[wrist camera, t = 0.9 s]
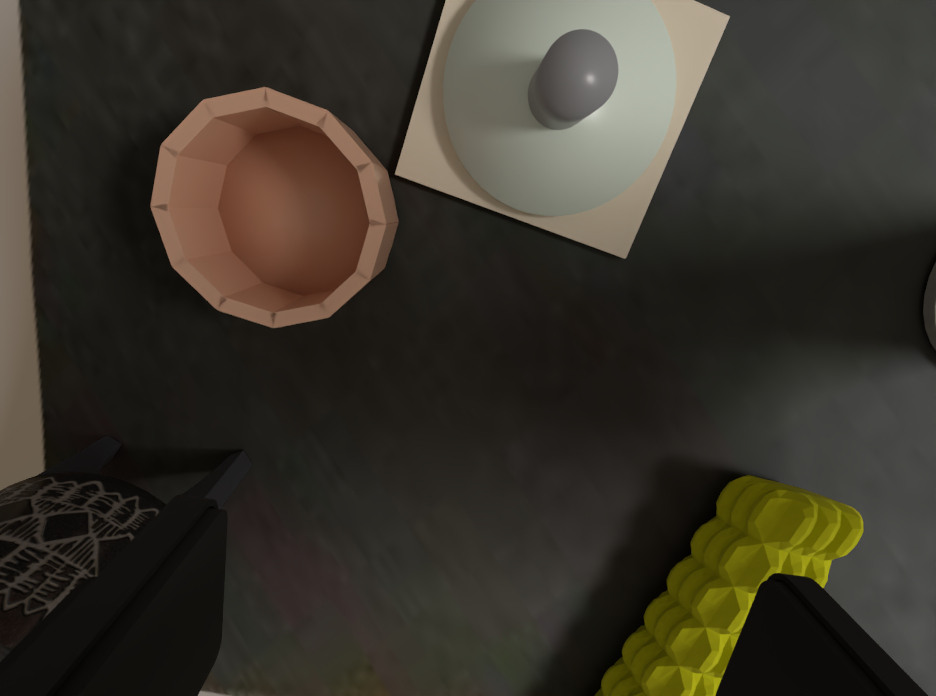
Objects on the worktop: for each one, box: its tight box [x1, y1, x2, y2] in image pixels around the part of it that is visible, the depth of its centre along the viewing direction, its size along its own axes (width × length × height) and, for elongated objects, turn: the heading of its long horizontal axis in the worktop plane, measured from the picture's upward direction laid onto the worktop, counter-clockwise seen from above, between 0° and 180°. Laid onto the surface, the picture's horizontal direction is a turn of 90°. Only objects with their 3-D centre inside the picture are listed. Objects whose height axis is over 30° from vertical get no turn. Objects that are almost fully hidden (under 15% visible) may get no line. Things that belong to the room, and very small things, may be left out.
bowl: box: [150, 87, 399, 328], centre depth 27 cm, size 11×11×6 cm
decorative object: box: [594, 475, 863, 696], centre depth 36 cm, size 7×33×7 cm, turn 157°
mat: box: [395, 0, 730, 259], centre depth 28 cm, size 15×14×1 cm
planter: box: [0, 436, 252, 662], centre depth 26 cm, size 13×13×18 cm
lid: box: [443, 0, 676, 216], centre depth 25 cm, size 13×13×5 cm
